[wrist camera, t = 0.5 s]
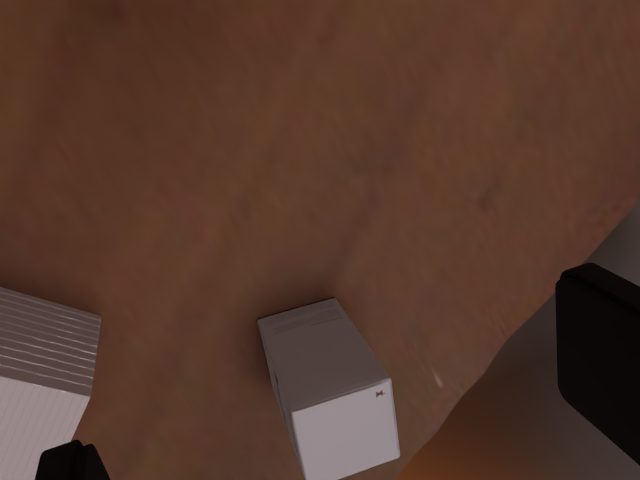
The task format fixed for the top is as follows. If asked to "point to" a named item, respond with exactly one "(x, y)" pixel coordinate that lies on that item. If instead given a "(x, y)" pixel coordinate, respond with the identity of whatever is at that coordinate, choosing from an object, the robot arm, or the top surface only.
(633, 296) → the robot arm
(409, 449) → the top surface
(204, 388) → the top surface
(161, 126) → the top surface
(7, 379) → the long grey block
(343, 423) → the supplement box
